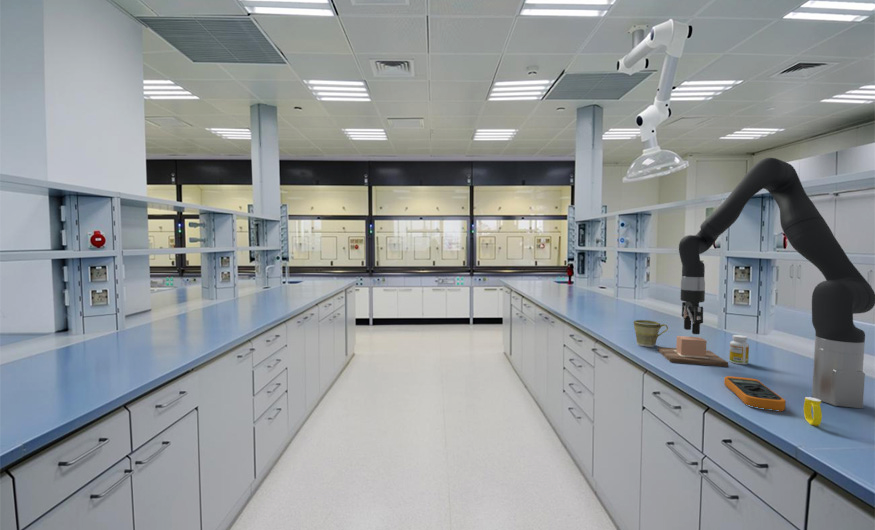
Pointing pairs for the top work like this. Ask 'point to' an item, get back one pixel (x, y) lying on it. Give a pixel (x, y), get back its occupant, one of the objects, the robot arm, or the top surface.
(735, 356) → the supplement bottle
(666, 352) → the walnut board
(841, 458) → the top surface
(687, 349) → the terracotta block
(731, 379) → the multimeter
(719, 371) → the top surface
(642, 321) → the ceramic cup
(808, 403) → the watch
